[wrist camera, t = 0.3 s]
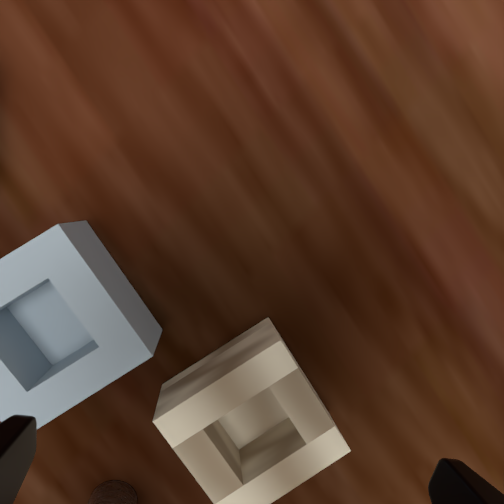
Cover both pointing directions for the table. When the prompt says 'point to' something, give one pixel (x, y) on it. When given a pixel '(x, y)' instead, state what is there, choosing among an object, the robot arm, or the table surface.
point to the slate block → (66, 323)
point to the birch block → (248, 420)
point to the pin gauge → (113, 493)
